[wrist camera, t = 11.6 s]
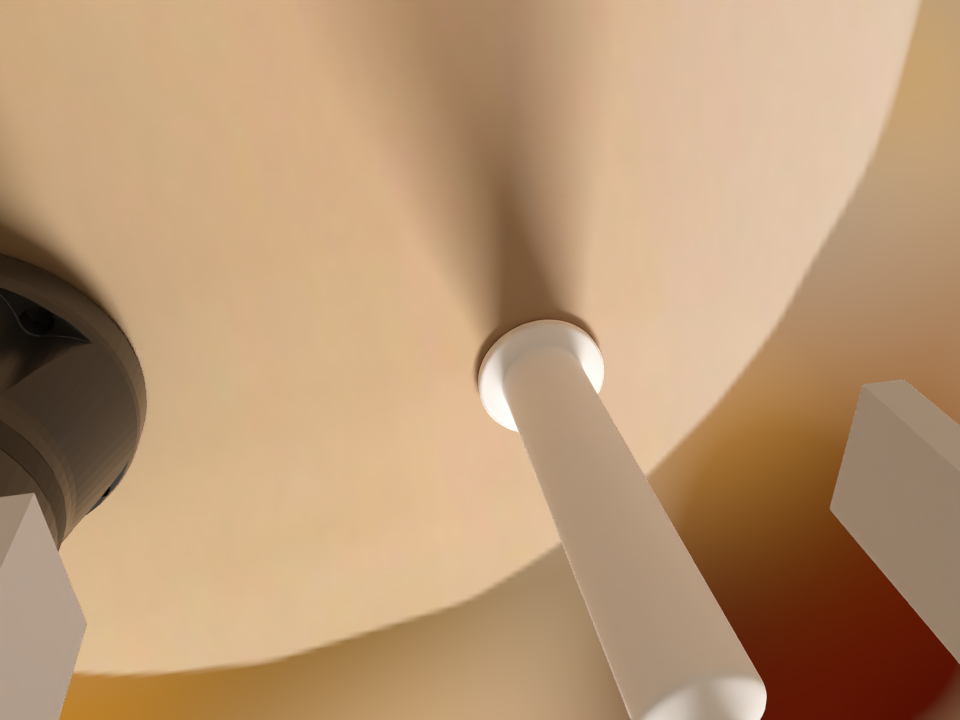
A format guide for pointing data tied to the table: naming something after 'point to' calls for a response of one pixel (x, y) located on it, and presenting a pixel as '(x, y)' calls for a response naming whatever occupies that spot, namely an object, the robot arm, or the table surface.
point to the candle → (617, 533)
